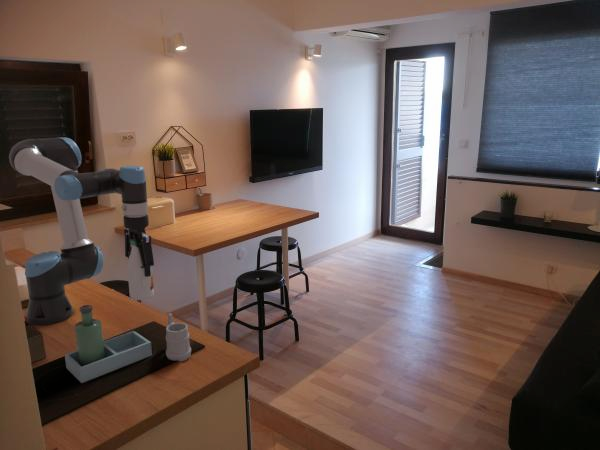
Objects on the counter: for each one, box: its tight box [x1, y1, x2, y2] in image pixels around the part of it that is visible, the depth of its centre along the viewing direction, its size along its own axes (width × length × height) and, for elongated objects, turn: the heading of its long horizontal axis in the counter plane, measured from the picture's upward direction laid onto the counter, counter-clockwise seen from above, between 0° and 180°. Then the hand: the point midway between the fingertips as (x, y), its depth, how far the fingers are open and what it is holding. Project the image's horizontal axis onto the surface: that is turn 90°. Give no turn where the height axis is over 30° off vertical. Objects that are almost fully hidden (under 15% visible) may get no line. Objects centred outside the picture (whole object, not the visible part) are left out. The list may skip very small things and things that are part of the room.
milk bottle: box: [127, 239, 155, 301], centre depth 157 cm, size 8×8×20 cm
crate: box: [64, 330, 153, 384], centre depth 144 cm, size 11×21×5 cm, turn 135°
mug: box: [165, 313, 192, 362], centre depth 148 cm, size 8×12×12 cm, turn 34°
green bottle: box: [74, 304, 105, 367], centre depth 138 cm, size 7×7×19 cm
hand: (140, 281), depth 158 cm, fingers closed on milk bottle, 7 cm apart
